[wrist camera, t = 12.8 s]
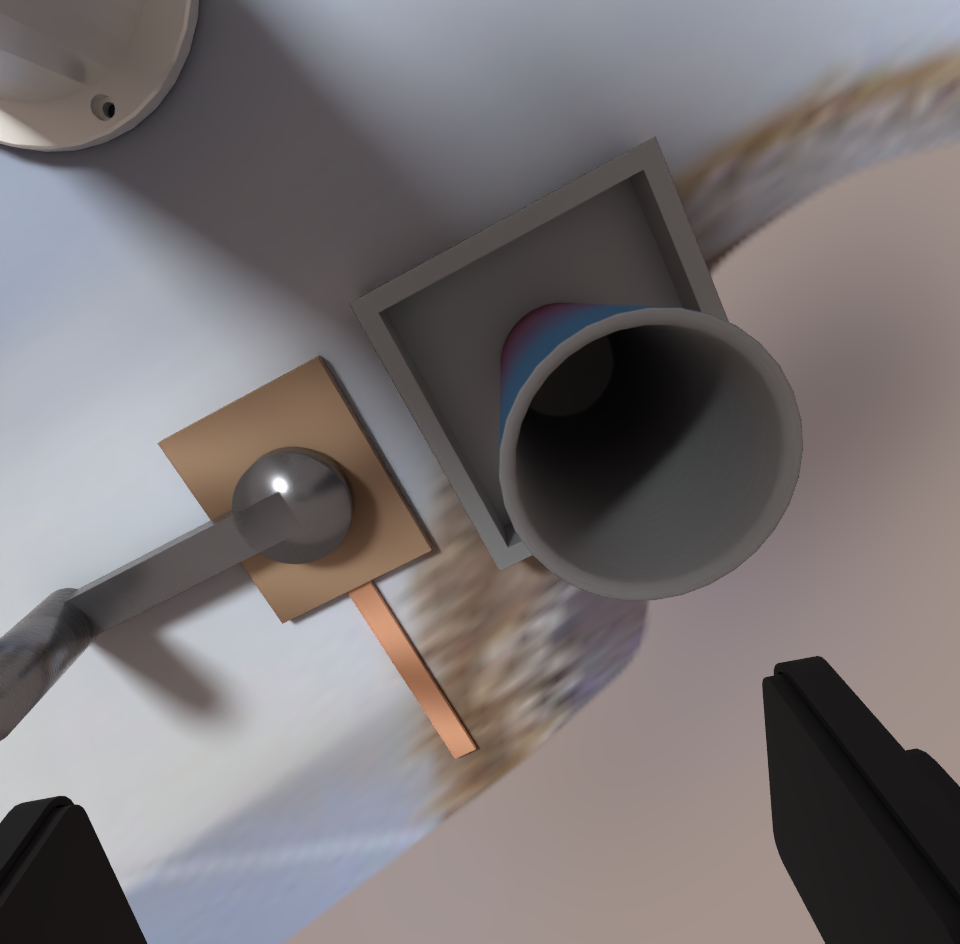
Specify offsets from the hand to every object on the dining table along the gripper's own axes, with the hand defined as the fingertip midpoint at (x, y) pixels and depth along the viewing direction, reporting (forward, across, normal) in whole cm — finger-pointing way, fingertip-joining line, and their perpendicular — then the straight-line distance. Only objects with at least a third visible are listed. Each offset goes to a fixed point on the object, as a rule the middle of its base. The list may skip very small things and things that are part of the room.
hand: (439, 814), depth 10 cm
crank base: (+23, +6, +8) cm, 25 cm away
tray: (+23, -5, -1) cm, 23 cm away
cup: (+22, -5, -1) cm, 23 cm away
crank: (+22, +13, +4) cm, 26 cm away
